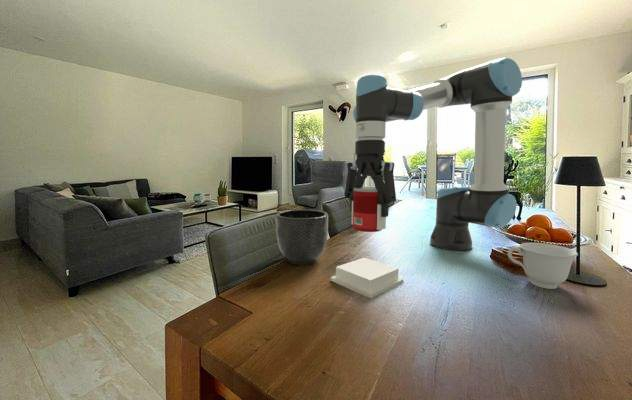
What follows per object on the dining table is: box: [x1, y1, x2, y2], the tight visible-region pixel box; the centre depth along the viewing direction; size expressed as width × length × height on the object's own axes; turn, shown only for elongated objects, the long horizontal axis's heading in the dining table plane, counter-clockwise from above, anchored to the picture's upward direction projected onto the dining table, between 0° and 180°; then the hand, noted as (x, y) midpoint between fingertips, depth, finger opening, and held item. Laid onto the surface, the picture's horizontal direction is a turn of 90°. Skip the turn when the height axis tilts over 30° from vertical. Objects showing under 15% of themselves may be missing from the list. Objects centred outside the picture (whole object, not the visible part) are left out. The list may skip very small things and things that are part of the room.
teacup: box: [507, 242, 579, 290], centre depth 77 cm, size 12×15×10 cm
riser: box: [330, 257, 404, 299], centre depth 79 cm, size 14×14×4 cm
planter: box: [275, 209, 329, 266], centre depth 95 cm, size 17×17×16 cm
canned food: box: [352, 186, 382, 233], centre depth 76 cm, size 8×8×11 cm
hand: (367, 226), depth 77 cm, fingers closed on canned food, 8 cm apart
